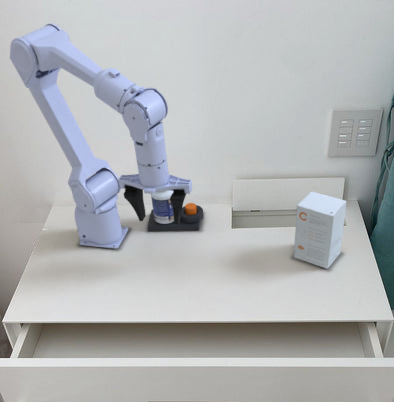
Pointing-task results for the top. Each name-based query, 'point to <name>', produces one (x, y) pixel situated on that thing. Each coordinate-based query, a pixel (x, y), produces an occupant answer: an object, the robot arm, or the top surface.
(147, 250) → the top surface
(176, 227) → the scale
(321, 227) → the small box
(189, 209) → the button
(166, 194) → the pill bottle
